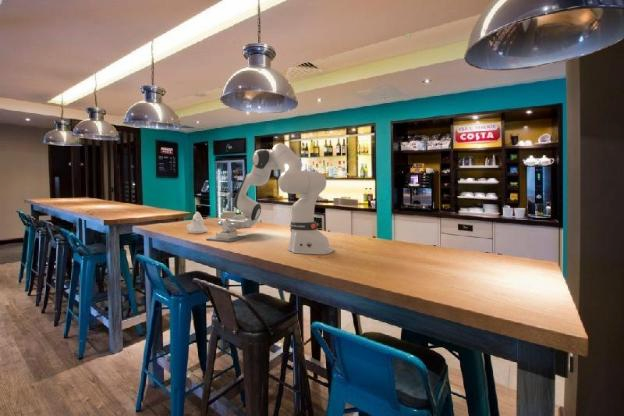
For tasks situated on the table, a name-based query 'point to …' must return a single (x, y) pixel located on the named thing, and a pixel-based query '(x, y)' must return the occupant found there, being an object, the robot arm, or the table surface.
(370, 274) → the table surface
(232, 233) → the socket board
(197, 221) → the soft serve ice cream
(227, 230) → the battery cell
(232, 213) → the supplement box
